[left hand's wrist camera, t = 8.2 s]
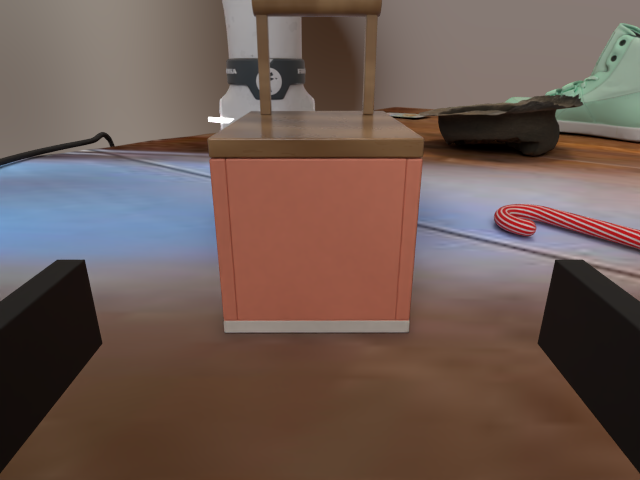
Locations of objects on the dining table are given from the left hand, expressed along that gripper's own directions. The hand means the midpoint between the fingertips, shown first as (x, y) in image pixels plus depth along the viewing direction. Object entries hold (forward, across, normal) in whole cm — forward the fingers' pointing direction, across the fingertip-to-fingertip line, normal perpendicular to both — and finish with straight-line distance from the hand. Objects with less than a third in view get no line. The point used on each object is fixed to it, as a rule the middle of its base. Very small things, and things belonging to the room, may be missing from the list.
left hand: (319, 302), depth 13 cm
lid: (+16, 0, +2) cm, 16 cm away
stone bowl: (+65, +29, -7) cm, 72 cm away
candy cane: (+22, +22, -7) cm, 31 cm away
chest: (+15, 0, -7) cm, 17 cm away
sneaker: (+84, +54, -7) cm, 100 cm away
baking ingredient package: (+119, +23, -7) cm, 121 cm away
